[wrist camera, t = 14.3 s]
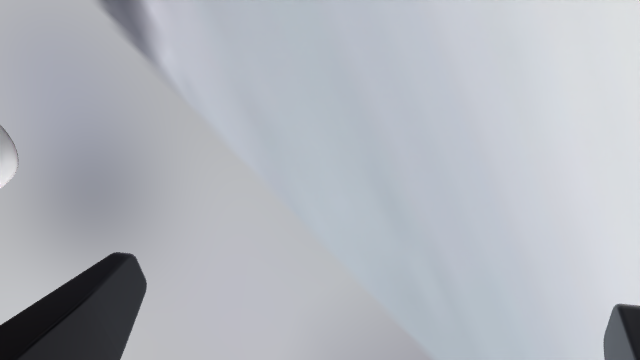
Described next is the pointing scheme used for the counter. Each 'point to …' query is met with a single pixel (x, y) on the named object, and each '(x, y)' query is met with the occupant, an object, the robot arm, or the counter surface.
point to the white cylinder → (7, 158)
